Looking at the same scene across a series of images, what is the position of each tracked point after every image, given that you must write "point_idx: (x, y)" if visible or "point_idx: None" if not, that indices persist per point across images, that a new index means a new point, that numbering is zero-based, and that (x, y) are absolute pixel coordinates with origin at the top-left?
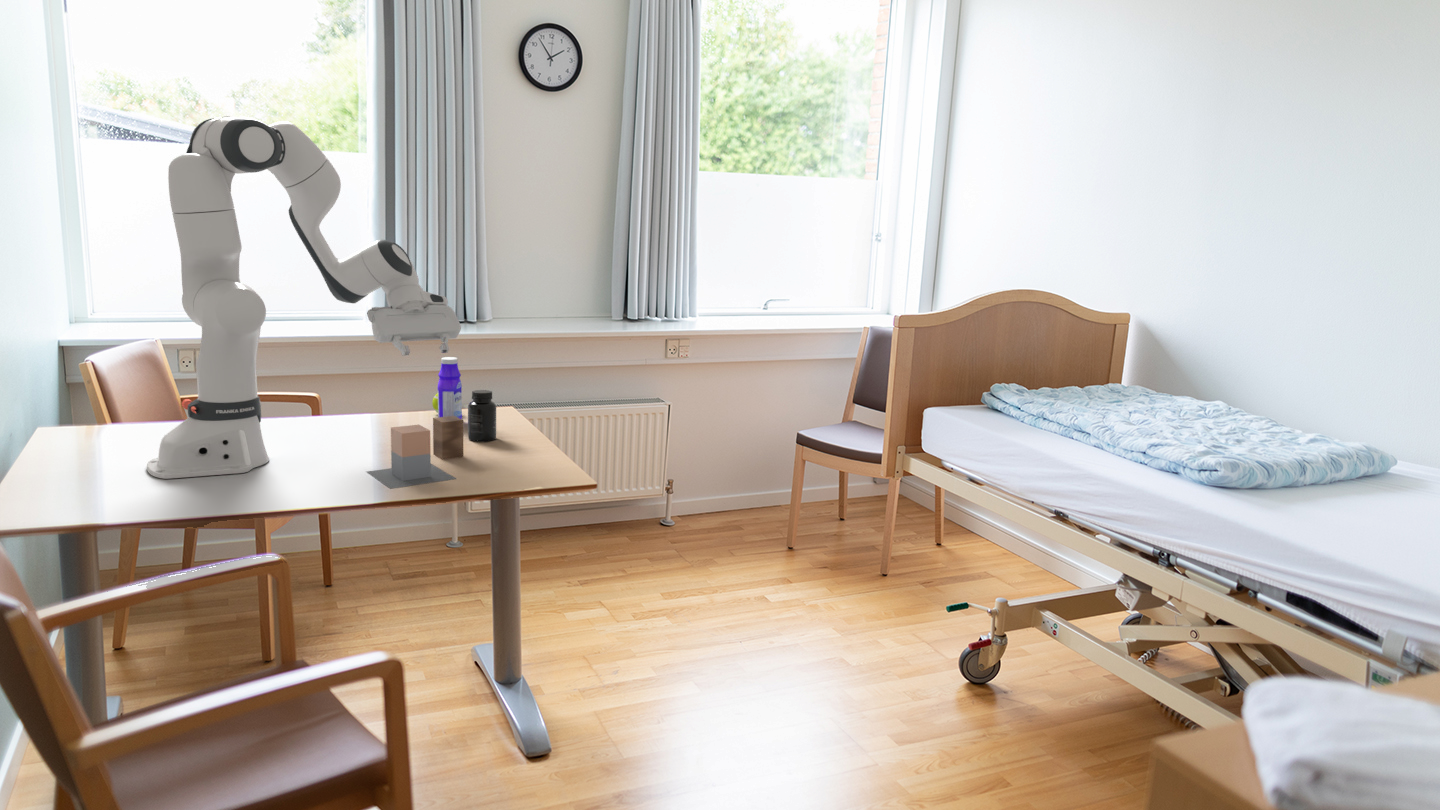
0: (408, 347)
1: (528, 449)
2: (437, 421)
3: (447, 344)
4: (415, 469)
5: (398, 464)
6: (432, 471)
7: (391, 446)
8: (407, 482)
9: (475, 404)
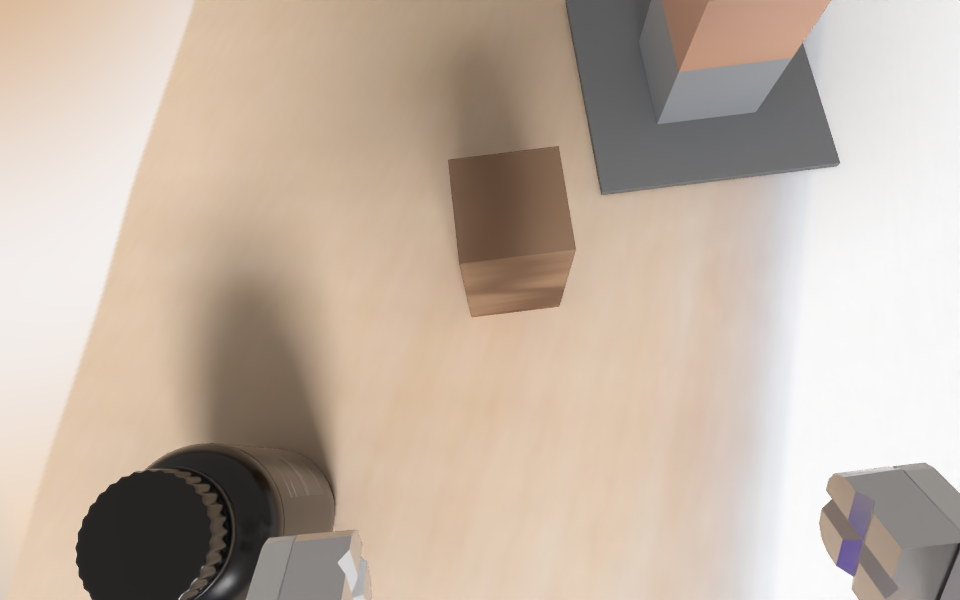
0: (881, 516)
1: (184, 273)
2: (566, 199)
3: (250, 597)
4: None
5: None
6: (619, 93)
7: (799, 42)
8: None
9: (246, 489)
